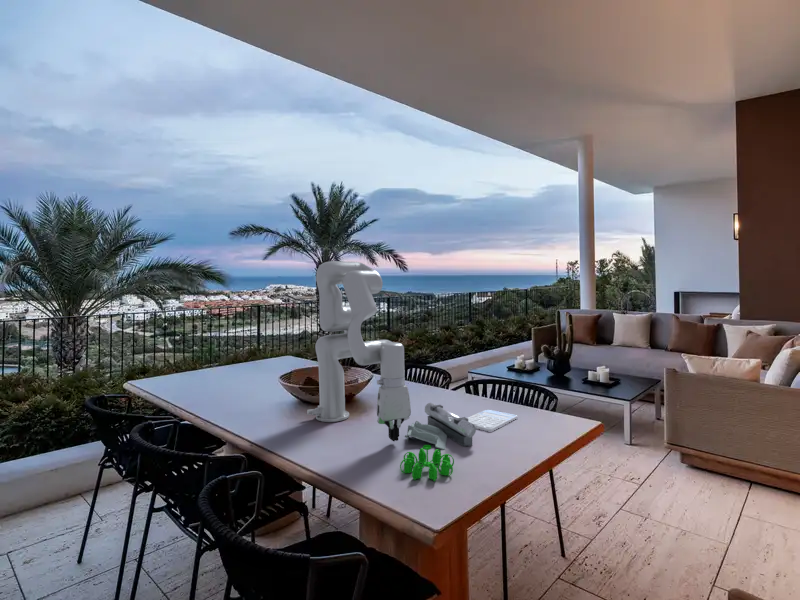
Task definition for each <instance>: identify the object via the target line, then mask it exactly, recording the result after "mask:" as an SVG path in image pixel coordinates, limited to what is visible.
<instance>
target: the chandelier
mask: <svg viewBox="0 0 800 600" xmlns="http://www.w3.org/2000/svg"><path fill="white" fill-rule="evenodd" d="M429 450H432V445H430V444H424V445H422V447H420V449H419V452H418V455H417V454H415V453H414V452H412V451H408V452H406V453H404V455H403V459H402V460H401V462H400V465H399V468H400V471H401V472H402V473H403V474H404V473H405V474H411V476H412V480H414V481H417V479H421V478H422V474H423V473H422V472H423V468H428V479H429V480H432V481H433V482H436V481H437V479H438V473H439V474H440V475H442V476H447V477H450V476H451V475H452V474H453V473H454V472H453V471H454V470H453V469H454V468H453V466H454V464H455V458H454V457H453V456H452V455H451V454H449V453H445V454H442V452H441V449H440V448H437V449H435V450H434V451H433V454H432V459H431V460H430V461H429ZM416 455H417V456H418V458H417V456H416ZM450 457H451V458H452V463H451V458H450ZM403 463H404V464H403ZM402 464H403V469H402ZM436 464H437V465H436ZM413 466H414V467H413ZM450 471H451V472H450ZM411 472H412V473H411Z"/></svg>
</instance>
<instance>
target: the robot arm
mask: <svg viewBox="0 0 800 600" xmlns="http://www.w3.org/2000/svg"><path fill="white" fill-rule="evenodd" d="M315 278H316V285H317V289H318V294H319V325H320V328H321V330H322V331H324V332H341V331H342V332H344V333H339V334H338V333H336V334H335V333H333V334H328V335H323V336H321V337H319V338H318V339H317V340H316V341H315V342H316V343H315V344H314V345H315V347H314V348H315V354H316V359H317V366H318V380H319V381H318V384H319V387H318V388H319V390H318V391H319V395H318V396H319V405H317V407H315V408H313V409H307V410H306V412H307V413H306V414H307V415H308V416H309V415H310V416H311V415H312V416H315V419H316V420H317V421H319V422H322V423H336V422H341V421H345V420H347V419H349V417H350V412H349V411H347V410H346V397H345V393H346V392H345V371H344V368H343V366H342V364H341V363H340V361H339V360H341V359H348V358H352V359H353V360H354V362H355V363H356V364H357V365H359V366H369V365H370V366H371V365H375V364H380V378H379V379H377V380H376V385H380V386H378V391H377V396H376V397H377V398H376V416H377V420H376V422H377V423H378V424H379V425H386V427H388V438H389V439H390V440H391V441H392V442H397V441H399V437H400V428H401V425H402V424H403V422H404V421H407V420H409V419H410V416H411V413H412V410H411V399H410V397H411V396H410V393H409V387H408V385H406V381H405V380H406V378H405V346H404V345H403V344H402V343H401V342H397V341H396V342H395V341H392V340H389V339H377V340H367V341H364V340H363V336H362V331H361V327H362V324H363V322H364V321H366V320H368V319H370V318H371V317H373V316H374V315H375V314H376V313H377V311H378V309H377V304H376V302H375V299H374V296H373V295H375V294H376V295H377V294H378V293H380V292H381V291H382V289H383V285H384V284H383V283H384V282H383V278H382V276H381V275H380V273H379V272H378V271H377V270H375V269H374V268H372V267H370V266H368V265H367V264H365V263H363V262H359V261H343V260H338V261H337V260H331V261H326V262H322V263H321V264H320V265H319V266H318V268H317V270H316V275H315ZM338 285H343V289H344V291H345V296H346V298H347V301H348V305H343V294H342V291H341V290H340V288H339V286H338Z"/></svg>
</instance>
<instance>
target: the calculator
mask: <svg viewBox="0 0 800 600" xmlns="http://www.w3.org/2000/svg"><path fill="white" fill-rule="evenodd" d="M466 418H467V419H468V422H470V423H472V424H474V425H475V427H476V430H479V429H480V430H479V431H483V430H484V431H483V432H487V431H488V433H492V432H495V431H496V429H497V430H499V429H500V428H503V427H504V426H506V425H508V424H510V423H512V422H514V421H516V420H518V415H517V414H514V413H509V412H505V411H504V412H503V411H501V410H500V411H498V410H494V409H484V410H481V411H480V412H477V413H475V414H473V415H471V416H468V417H466ZM515 419H516V420H515ZM513 420H514V421H513ZM511 421H512V422H511ZM509 422H510V423H509ZM505 424H506V425H505ZM503 425H504V426H503ZM498 428H499V429H498ZM494 430H495V431H494Z"/></svg>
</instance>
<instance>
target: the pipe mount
mask: <svg viewBox="0 0 800 600" xmlns="http://www.w3.org/2000/svg"><path fill="white" fill-rule="evenodd" d="M424 413H425V414H426V415H427V425H431V426H434V427H437V428H439V429H440V430H442V431H443V432H444V433H445V434H446V435H447V438H449V439H451V440H452V441H454V442H455V443H457V444H459V445H461V446H462V447H464V448H466V447H469V446H470V447H471V446H473V437H474V436H475V434H476V432H477V429H476V427H475V425H474V424H472V423H470V422H468V419H467V418H468V417H465V416H464V417H462V416H461V417H460V416H458V415H456V414H454V413H452V412H451V411H449V410H447V409H445V408H444V405H442V404H435V403H433V402H428V403H427V404H426V405H425V406H424Z"/></svg>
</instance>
